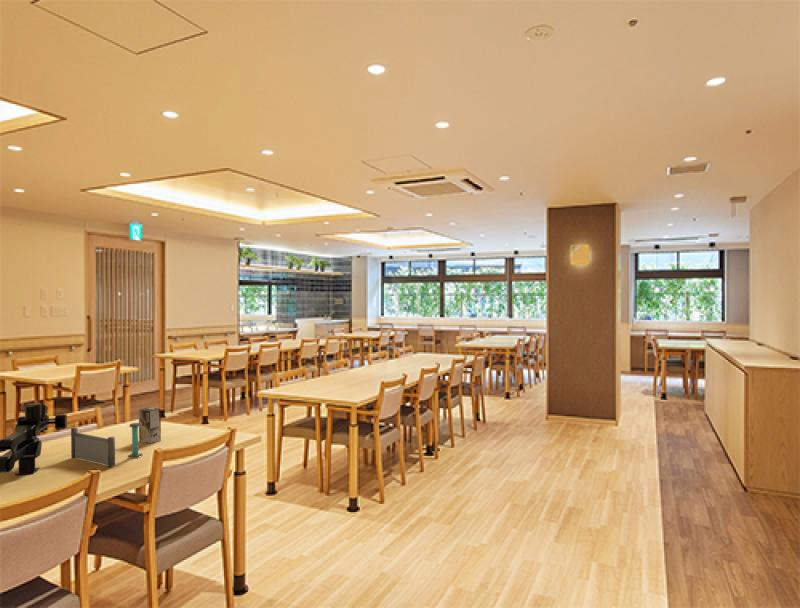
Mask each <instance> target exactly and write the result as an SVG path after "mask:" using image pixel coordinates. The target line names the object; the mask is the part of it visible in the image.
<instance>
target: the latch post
mask: <svg viewBox="0 0 800 608" xmlns="http://www.w3.org/2000/svg"><path fill="white" fill-rule="evenodd" d="M139 426H140V423H139V422H133V423H130V424H129V428H131V436H132V437H131V438H132V439H131V442H132V443H131V445H132V446H131V448H132V449H131V451H132V452H131V453H130V454H128V455H127V457H139V456H141V455H142V456H143V453H140V452H139ZM142 456H141V457H142ZM139 458H140V457H139Z"/></svg>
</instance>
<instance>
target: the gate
mask: <svg viewBox="0 0 800 608" xmlns="http://www.w3.org/2000/svg"><path fill="white" fill-rule="evenodd" d="M70 435H71V436H70V438H71V439H70V440H71V441H70V443H71V445H70V447H71V448H70V450H71V452H70V454H71V455H70V456H71V459H74V458H76V459H80V460H84V461H88V462H92V463H96V464H101V465H106V466H108V467H115V465H116V446H115V445H116V437H115V436H108V437H103V436H102V437H101V436H95V435H92V434H86V433H80V432H79V427H75V426H74V427H71V428H70Z"/></svg>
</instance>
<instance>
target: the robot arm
mask: <svg viewBox="0 0 800 608" xmlns="http://www.w3.org/2000/svg"><path fill="white" fill-rule="evenodd" d="M48 409H49V406H48V405H45V404H42V403H41V402H32V403H26V404H24V416H19V417H18V418H17V419H16V424H15V427H14V431H13V432H12V433H11V434H9V435H7V436H5V437H4V438H2V439H0V452H1V451H6V452H5V453H4V454H2V455H0V474H3V473H4V474H5V473H11V472H12V470H13V469H14V467H15V464H16V462H17V461H18V463H17V464H18V471H16V472H15V473H14V475H15V476H21V474H23V475H32V474H34V473H36V472H38V470H39V467H36V459H37V458H39V457H41V454H42V445H43V444H42V440H40V438H39V437H38V435H39V433H44V432H45V431H47V430H48V429H49V428H48V427H49V425H54V429H55V430H65V429H66V428H68V415H67V414H66V413H65V414H64V413H63V414H56V415H55V417H54V418H53V417H52V418H51V417H50V416H49V415H48V413H49V412H48Z"/></svg>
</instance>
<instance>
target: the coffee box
mask: <svg viewBox="0 0 800 608" xmlns="http://www.w3.org/2000/svg"><path fill="white" fill-rule="evenodd" d="M161 416H162V415H161V408H158V407H157V408H156V407H150V406H149V407H143V408H140V409H138V423H140V426H138V442H141V441H142V442H141V443H146V442H148V443H147V444H153V442H154V443H156V442H160V441H162V429H161V428H162V427H161V425H162V424H161V423H162V421H161V420H162V418H161Z"/></svg>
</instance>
